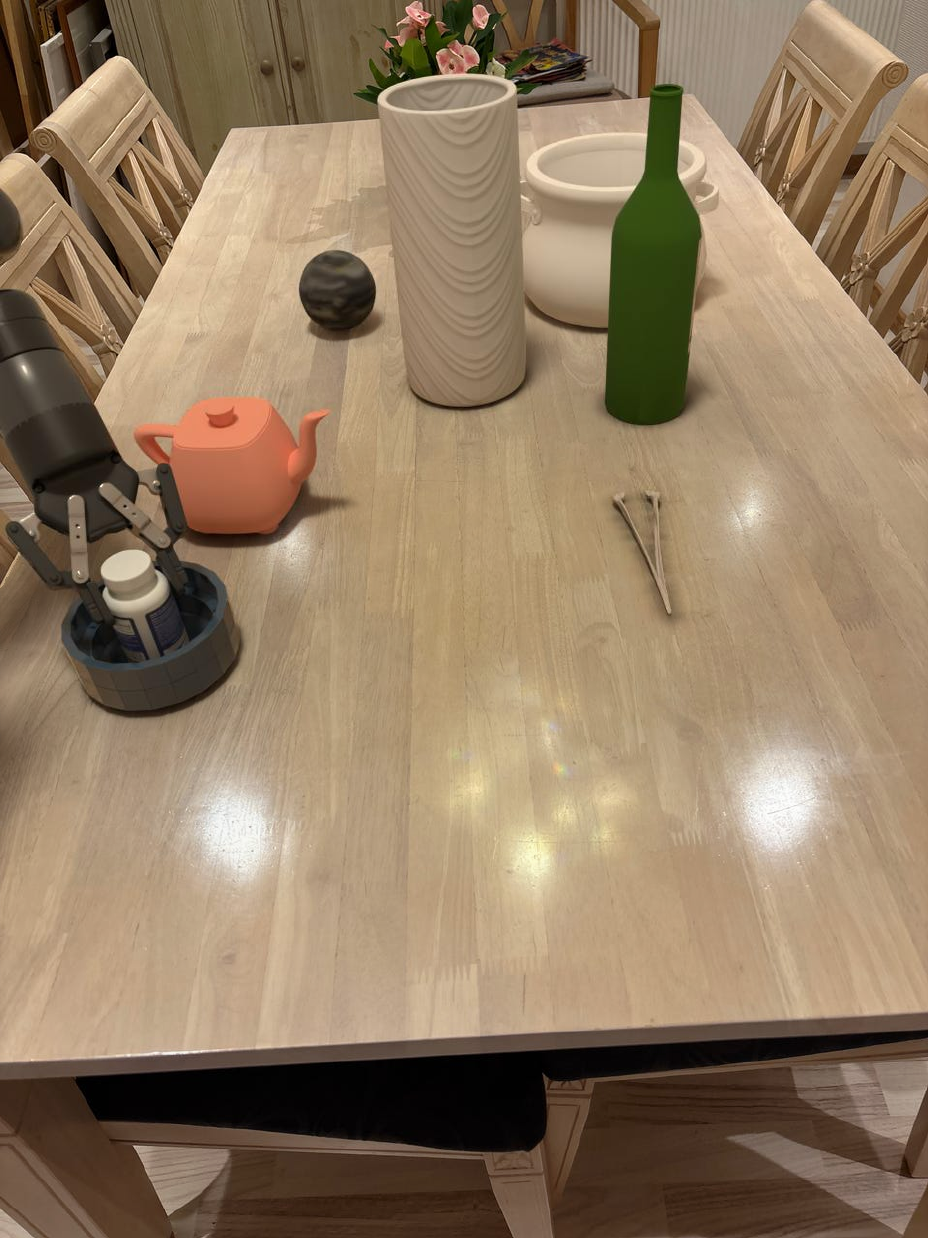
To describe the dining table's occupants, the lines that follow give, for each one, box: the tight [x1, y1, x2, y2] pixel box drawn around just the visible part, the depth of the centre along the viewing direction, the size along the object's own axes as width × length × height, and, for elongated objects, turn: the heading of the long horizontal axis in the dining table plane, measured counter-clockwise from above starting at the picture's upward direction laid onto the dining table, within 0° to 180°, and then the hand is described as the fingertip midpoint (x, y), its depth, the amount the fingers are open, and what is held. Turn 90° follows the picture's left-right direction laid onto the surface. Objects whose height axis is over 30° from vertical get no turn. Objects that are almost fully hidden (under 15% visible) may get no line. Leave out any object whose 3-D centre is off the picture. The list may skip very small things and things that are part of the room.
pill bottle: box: [100, 549, 189, 663], centre depth 80 cm, size 5×5×10 cm
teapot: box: [133, 396, 331, 535], centre depth 96 cm, size 13×20×12 cm, turn 85°
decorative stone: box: [298, 249, 377, 332], centre depth 126 cm, size 10×10×10 cm
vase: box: [376, 73, 527, 408], centre depth 106 cm, size 14×14×32 cm
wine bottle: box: [604, 83, 702, 426], centre depth 99 cm, size 9×9×32 cm
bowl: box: [60, 560, 241, 712], centre depth 82 cm, size 14×14×6 cm
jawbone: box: [611, 489, 672, 615], centre depth 90 cm, size 17×5×2 cm, turn 3°
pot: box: [520, 131, 720, 329], centre depth 125 cm, size 26×24×18 cm
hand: (146, 608), depth 78 cm, fingers closed on pill bottle, 5 cm apart
